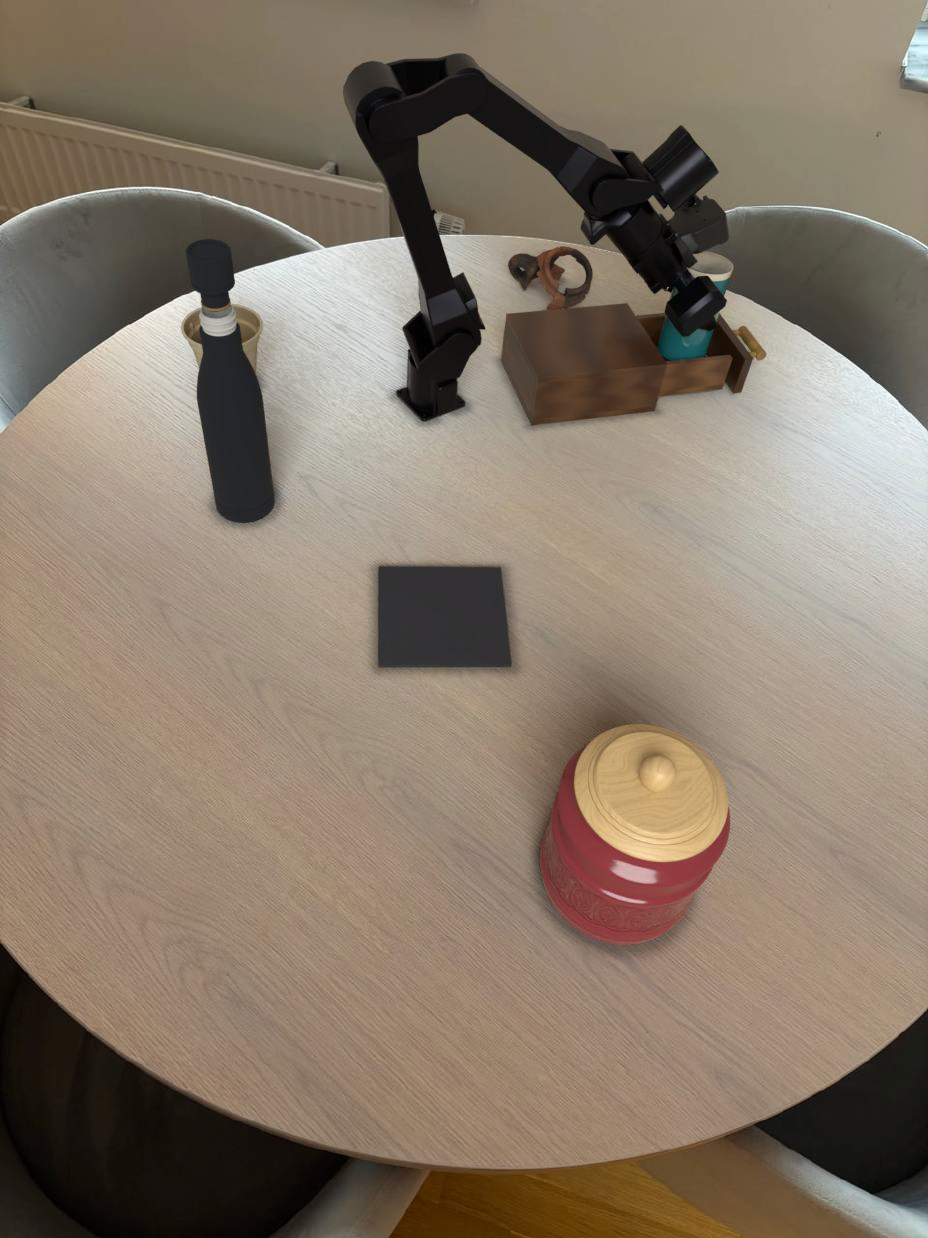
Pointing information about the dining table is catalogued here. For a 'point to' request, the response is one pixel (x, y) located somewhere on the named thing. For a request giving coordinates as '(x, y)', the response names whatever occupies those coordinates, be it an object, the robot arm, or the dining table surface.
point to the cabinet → (581, 363)
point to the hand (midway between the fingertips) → (702, 312)
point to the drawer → (708, 359)
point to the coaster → (442, 617)
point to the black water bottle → (229, 393)
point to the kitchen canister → (633, 833)
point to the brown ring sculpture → (551, 275)
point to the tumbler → (698, 341)
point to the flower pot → (248, 326)
